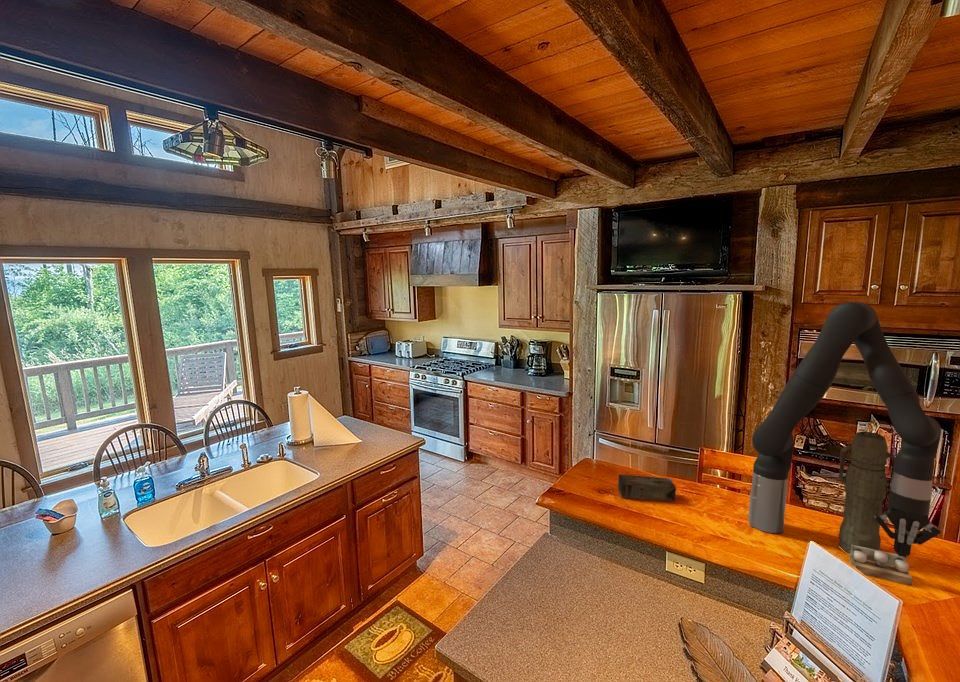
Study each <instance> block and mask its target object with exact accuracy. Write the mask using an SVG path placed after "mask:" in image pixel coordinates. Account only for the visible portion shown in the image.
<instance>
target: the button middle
mask: <svg viewBox="0 0 960 682" xmlns="http://www.w3.org/2000/svg"><path fill="white" fill-rule="evenodd" d="M882 551H883V550H879V551H875V554H874V559H876V560H877V564H876V566H877V567H880V568H884V563H887V561H888V554H886V553H885V552H886V551H883V552H882Z"/></svg>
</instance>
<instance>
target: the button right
mask: <svg viewBox="0 0 960 682" xmlns="http://www.w3.org/2000/svg"><path fill="white" fill-rule="evenodd" d="M894 567H895V568H896V569H897V572H902V573H905V572H908V573H909V569H910V568H909V567H910V564H909V563H908V562H907V561H906V562H905V561H902V560H895V566H894Z"/></svg>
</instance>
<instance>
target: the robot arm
mask: <svg viewBox="0 0 960 682" xmlns="http://www.w3.org/2000/svg"><path fill="white" fill-rule="evenodd" d="M853 344H854V345H855V346H856V348H857V350H858V351H859V354H860V355H861V358H862V360H863V362H864V365H865V368H866V371H867V374H868V377H869V379H870V381H871V383H872V385H873V387H874V389H875V391H876V393H877V395H878V396H879V398H880V399H881V401H882V403H883V404H884V406H885V408H886V409H887V413H888V416H889V419H890V421H891V423H892V426H893V429H894V430H895V432H896V434H897V435H898V437H899V438H900V439H901V441H900V448H899V449H898V452H897V454H896V456H895V458H896V459H895V466H894V473H893V476H892V479H891V483H890V482H889V487H890V491H889V494H888V501H887V507H886V508H885V509H884V512H881V514H879V515H878V514H874V515H873V516H874V518H875V519H876V520H877V522H878V523H879V524H880V528H882V529H883V531H884V533H886V535H887V536H888V537H889V538H890V539H892V540H894V541H893V542H894V543H893V550H894V553H895V554H897V555H898V556H902V557H907V556H910V555H911V550H912V545H914V544H917V545H920V546H921V545H923V544H925V543H927V542H928V541H930V540H932V539H933V538H935V537H936V536H938V535H940V534H941V533H942V532H941V530H940V529H939V528H938V527H937V526H936V525H934V524H933V523H931V520H930V518H929V515H930V508H931V501H932V496H933V478H934V469H935V458H936V456H937V452H938V449H939V445H940V442H941V441H940V440H941V437H942V436H941V435H942V428H941V425H940V423H939V422H938V421H937V419H934V417H932V416H929V415H926V413H925V411H924V409H923V408H922V406H921V402H920V401H921V399H920V396H919V394H918V392H917V390H916V389H915V387H914V385H913V384H912V382H911V381H910V379H909V377H908V376H907V373H905V371H904V369H903V368H902V366H901V365H900V363H899V361H898V359H897V358H896V357H895V355H894V352H892V349H891V348H890V345H889V343H888V342H887V340H886V337H885V335H884V332H883V330H882V326H881V323H880V320H879V318H878V315H877V312H876V310H875V309H874V308H873V307H872V306H870V305H869V304H867V303H864V302H859V301H845V302H842V303H839V304H837V305H836V306H834V307H833V308H832V309H831V310H830V312H829V313H828V315H827V317H826V319H825V321H824V324H823V326H822V328H821V330H820V332H819V333H818V336H817V337H816V340H815V341H814V343H813V345H812V346H811V347H810V349H809V350H808V352H807V353H806V354H805V355H804V357H803V358H802V359H801V361H800V362H799V364H798V365H797V367H796V368H795V370H794V371H793V373H792V374H791V376H790V378H789V379H788V381H787V382H786V385H784V388H783V390H782V391H781V392H780V394H779V397H778V398H777V400H776V402H775V405H774V406H773V407H772V409H771V411H770V412H769V414H767V416H766V418H765V419H764V420H763V421H762V422H761V424H760V425H759V426H757V428H756V429H755V431H754V432H753V434H752V437H751V441H752V442H751V443H752V446H753V448H754V449H755V451H756V452H757V454H758V455H757V456H756V458H755V460H754V463H753V466H752V478H751V479H752V481H751V491H750V493H749V505H748V518H747V520H748V523H749V527H752V528H755V529H757V530H759V531H762V532H766V533H770V534H781V533H783V532H784V527H785V513H786V506H787V505H786V504H787V503H786V502H787V493H788V492H787V491H788V483H789V482H788V480H789V473H790V470H791V467H792V464H793V463H792V462H793V454H794V447H795V440H794V439H795V438H794V434H793V431H794V430H795V428H796V427H797V426H798V424H799V423H800V422H801V421H802V420H803V419H804V418H805V417H806V416H807V415H808V414H809V413H810V412H812V410H813V409H815V407H816V406H817V405H818V404H819V403H820V401H821V400H822V399H823V398H824V396H825V394H827V392H828V391H829V389H831V386H832V385H833V383H834V381H835V379H836V377H837V374H838V371H839V368H840V365H841V361H842V360H843V358H844V355H845V354H846V353H847V351H848V349H850V347H851V346H852V345H853ZM888 521H890V523H891V524H892V525H893V529H894V532H893V531H892V530H891V529H890V527H889V526H888V525H887V523H888Z"/></svg>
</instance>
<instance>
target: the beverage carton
mask: <svg viewBox="0 0 960 682" xmlns="http://www.w3.org/2000/svg"><path fill="white" fill-rule="evenodd" d="M617 490H618V492H619V495H620V498H621V499H622V498H623V499H632V498H633V500H644V499H648V500H647V501H657V500H660V502H672V501H675V502H676V496H677V495H676V494H677V493H676V492H677V487H676V485H675V483H674V482H673V481H672V479H671V478H670V477H669V478H666V477H656V476H647V475H646V476H644V475H634V474H633V475H632V474H621V473H619V474H618V482H617ZM661 500H662V501H661Z"/></svg>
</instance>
